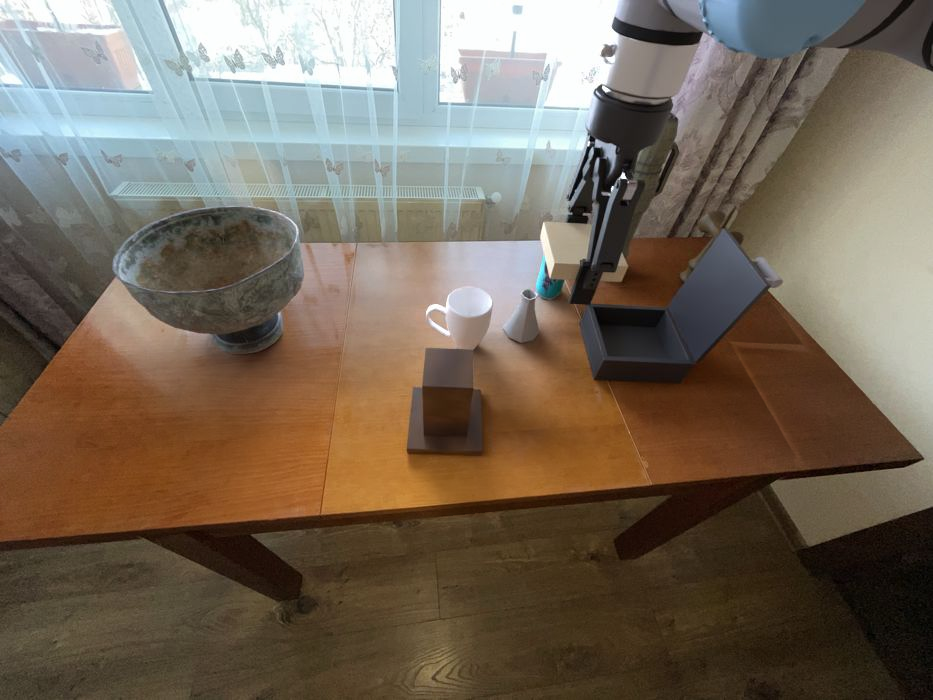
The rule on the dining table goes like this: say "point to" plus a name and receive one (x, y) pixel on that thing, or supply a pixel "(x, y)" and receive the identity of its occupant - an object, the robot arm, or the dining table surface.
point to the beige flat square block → (571, 251)
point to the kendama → (713, 226)
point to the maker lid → (719, 293)
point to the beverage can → (548, 283)
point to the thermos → (653, 173)
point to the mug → (464, 316)
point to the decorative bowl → (216, 273)
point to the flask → (523, 318)
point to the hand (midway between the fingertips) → (572, 278)
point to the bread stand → (446, 406)
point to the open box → (634, 344)
